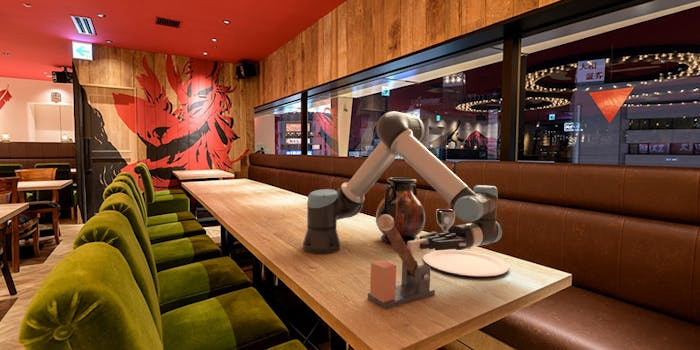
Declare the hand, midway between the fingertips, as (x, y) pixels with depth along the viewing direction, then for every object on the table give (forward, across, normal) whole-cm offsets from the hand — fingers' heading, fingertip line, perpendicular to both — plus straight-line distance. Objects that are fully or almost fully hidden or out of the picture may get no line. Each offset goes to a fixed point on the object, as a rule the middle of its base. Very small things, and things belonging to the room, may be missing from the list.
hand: (409, 246), depth 99 cm
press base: (+2, 0, -14) cm, 14 cm away
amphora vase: (-37, +45, -14) cm, 60 cm away
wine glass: (-51, +31, -14) cm, 61 cm away
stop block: (+9, 0, -12) cm, 15 cm away
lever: (-3, 0, -8) cm, 9 cm away
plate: (-37, +9, -14) cm, 41 cm away
